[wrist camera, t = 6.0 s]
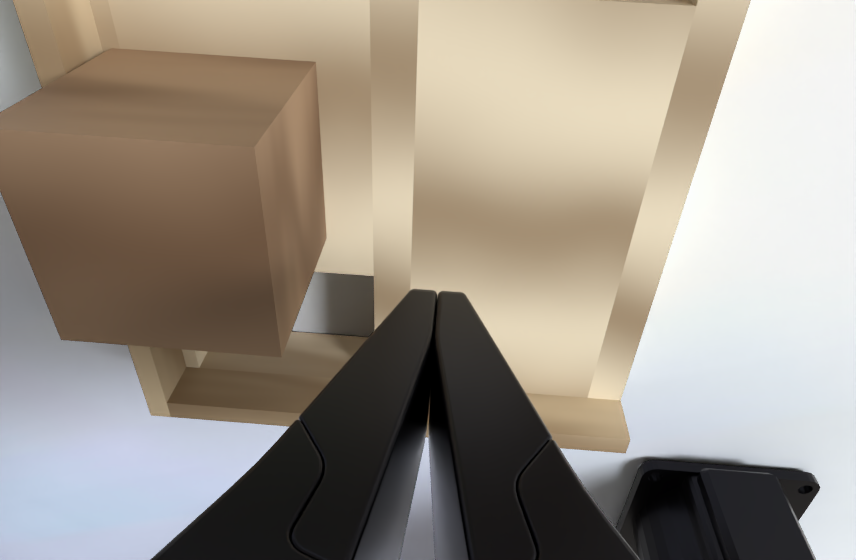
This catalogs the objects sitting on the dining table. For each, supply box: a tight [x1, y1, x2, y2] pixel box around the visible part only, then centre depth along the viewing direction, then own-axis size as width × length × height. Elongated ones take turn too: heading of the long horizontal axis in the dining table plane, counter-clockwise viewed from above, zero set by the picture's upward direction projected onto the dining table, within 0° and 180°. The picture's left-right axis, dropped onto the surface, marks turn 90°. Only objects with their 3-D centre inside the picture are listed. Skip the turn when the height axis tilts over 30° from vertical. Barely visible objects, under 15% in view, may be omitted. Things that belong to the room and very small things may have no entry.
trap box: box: [13, 0, 751, 453], centre depth 14 cm, size 20×14×4 cm
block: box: [0, 48, 327, 357], centre depth 13 cm, size 4×4×4 cm
